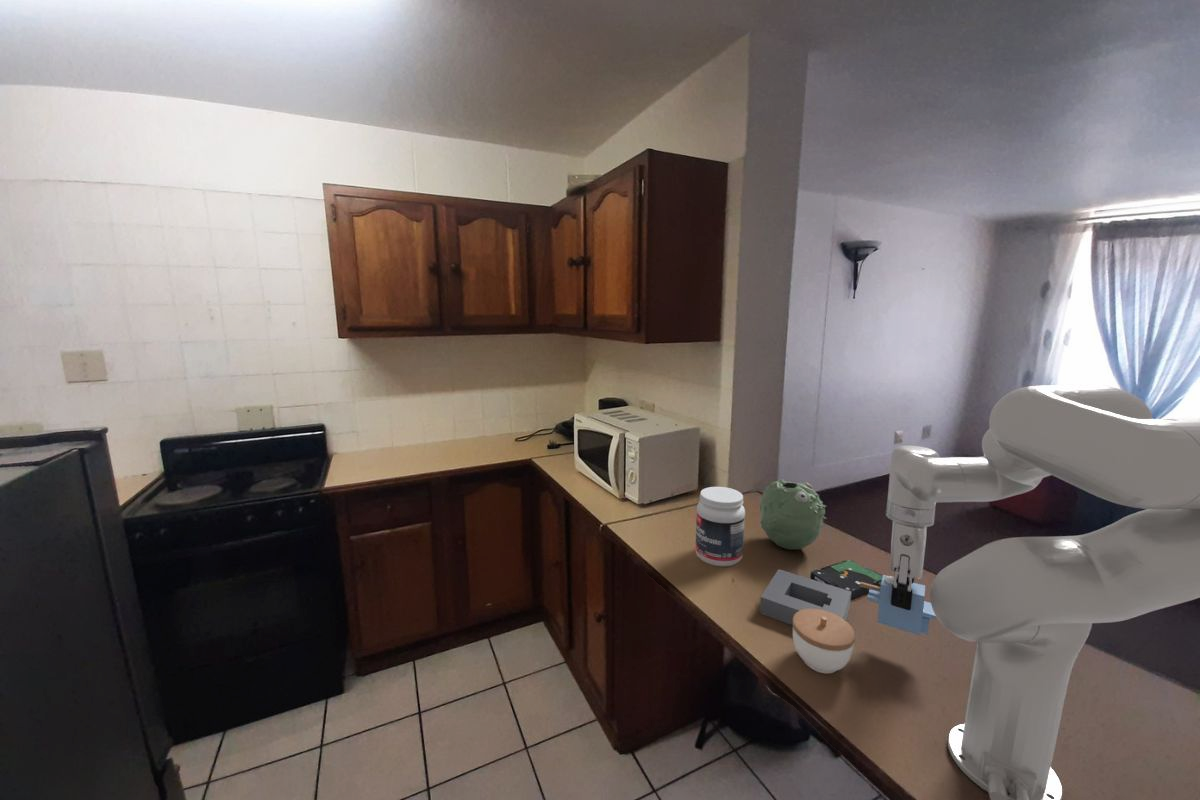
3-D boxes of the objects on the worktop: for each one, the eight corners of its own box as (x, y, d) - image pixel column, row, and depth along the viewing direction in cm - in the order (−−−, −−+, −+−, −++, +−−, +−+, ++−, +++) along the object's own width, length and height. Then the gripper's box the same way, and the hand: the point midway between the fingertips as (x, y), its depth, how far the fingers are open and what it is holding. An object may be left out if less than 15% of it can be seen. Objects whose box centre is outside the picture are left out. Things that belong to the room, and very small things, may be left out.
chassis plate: (838, 642, 93) (840, 624, 92) (759, 612, 102) (760, 596, 102) (849, 607, 104) (851, 591, 103) (777, 583, 114) (778, 569, 113)
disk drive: (845, 604, 106) (887, 587, 112) (846, 593, 106) (888, 577, 112) (809, 581, 116) (849, 566, 122) (809, 571, 115) (849, 557, 121)
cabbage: (773, 527, 144) (777, 466, 140) (833, 550, 129) (840, 483, 126) (743, 542, 135) (746, 477, 131) (804, 569, 120) (810, 497, 116)
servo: (934, 627, 88) (938, 586, 87) (933, 639, 85) (938, 597, 83) (859, 604, 96) (862, 566, 94) (856, 615, 92) (859, 575, 91)
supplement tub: (685, 555, 127) (687, 493, 124) (712, 540, 136) (714, 481, 132) (725, 574, 118) (728, 507, 114) (751, 557, 126) (755, 494, 123)
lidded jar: (863, 669, 86) (868, 624, 84) (828, 692, 81) (832, 645, 79) (812, 635, 95) (816, 594, 94) (778, 654, 90) (781, 611, 88)
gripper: (933, 532, 77) (923, 630, 80) (935, 502, 91) (926, 587, 93) (882, 521, 82) (874, 615, 85) (890, 494, 95) (883, 576, 98)
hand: (901, 599), depth 89 cm, fingers closed on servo, 4 cm apart
